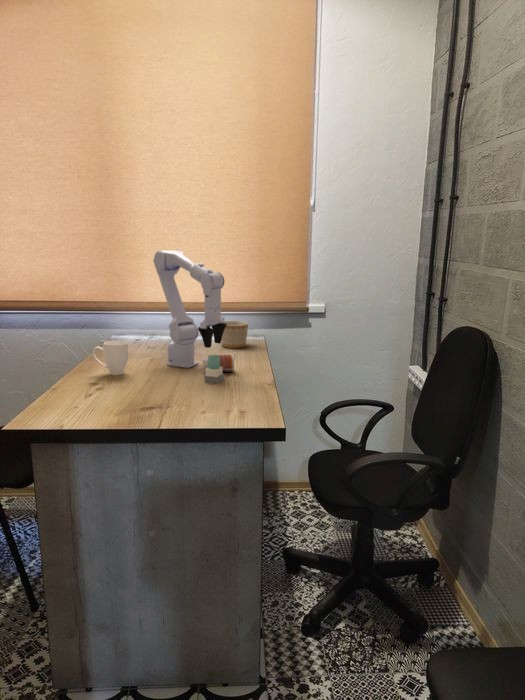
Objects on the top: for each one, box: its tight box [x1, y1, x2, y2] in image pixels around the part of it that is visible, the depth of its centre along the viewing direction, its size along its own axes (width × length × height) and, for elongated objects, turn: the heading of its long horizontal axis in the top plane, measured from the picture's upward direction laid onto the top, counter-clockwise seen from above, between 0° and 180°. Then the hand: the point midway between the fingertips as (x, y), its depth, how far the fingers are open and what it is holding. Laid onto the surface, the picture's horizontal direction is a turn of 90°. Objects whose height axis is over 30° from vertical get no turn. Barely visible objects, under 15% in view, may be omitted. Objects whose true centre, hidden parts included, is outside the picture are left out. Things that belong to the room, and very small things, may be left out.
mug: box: [92, 339, 129, 376], centre depth 177 cm, size 12×8×11 cm
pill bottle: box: [202, 354, 235, 373], centre depth 184 cm, size 6×6×11 cm
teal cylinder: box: [207, 354, 220, 369], centre depth 171 cm, size 4×4×4 cm
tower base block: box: [204, 372, 225, 384], centre depth 173 cm, size 5×5×2 cm
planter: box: [221, 320, 249, 349], centre depth 225 cm, size 13×13×10 cm
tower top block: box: [204, 367, 223, 377], centre depth 172 cm, size 4×4×2 cm
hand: (212, 345), depth 180 cm, fingers open, 7 cm apart
